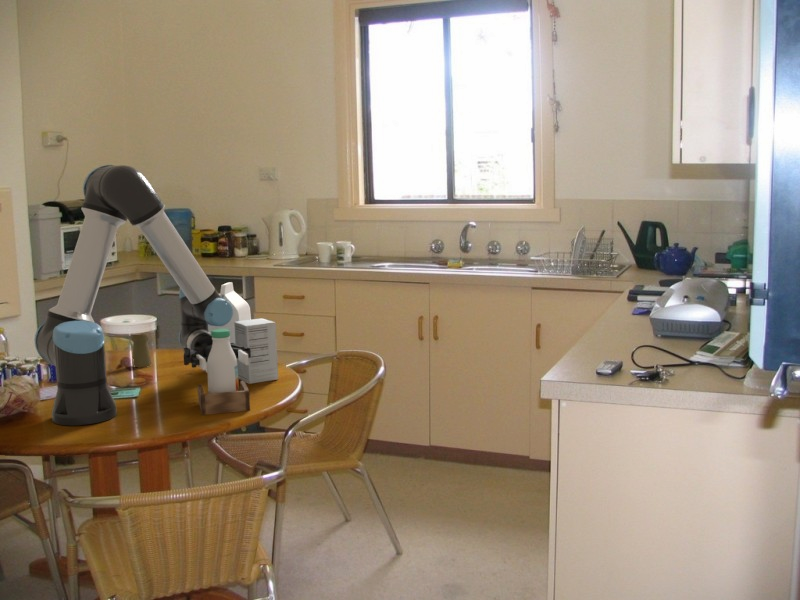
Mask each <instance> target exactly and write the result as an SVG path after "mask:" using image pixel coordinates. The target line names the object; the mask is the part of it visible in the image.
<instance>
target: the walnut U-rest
mask: <svg viewBox="0 0 800 600" xmlns="http://www.w3.org/2000/svg"><path fill="white" fill-rule="evenodd" d="M197 393H198V394H197V395H198V405H199V410H200V413H201V414H200V415H201V416H205V415H216V414H225V413H236V412H238V413H239V412H247V411H251V402H250V399H251V398H250V390H249V388H248V385H247V382H245V381H243V380H240V390H239V391H234V392H223V393H212V394H209V393H205V391H204V388H203V385H202V384H197Z"/></svg>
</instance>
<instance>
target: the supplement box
mask: <svg viewBox="0 0 800 600" xmlns="http://www.w3.org/2000/svg"><path fill="white" fill-rule="evenodd" d="M234 326H235V342H236V344H237V345H240V346H244V347H248V348H250V350H251V357H250V358H248V362H249V365H245V364H243V363H242V362H241V361H239V359H238V358H236V359H237V366H238V380H240V381H245V383H246V384H249V385H251V384H257V383H263V382H270V381H275V380H276V381H277V380H279V369H278V368H279V367H278V365H279V363H278V349H277V348H278V345H277V343H278V342H277V323H276V322H275V321H272V320H268V319H266V318H263V317H262V318H261V317H259V318H253V319H252V318H251V320H244V321H237V322H234Z"/></svg>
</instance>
